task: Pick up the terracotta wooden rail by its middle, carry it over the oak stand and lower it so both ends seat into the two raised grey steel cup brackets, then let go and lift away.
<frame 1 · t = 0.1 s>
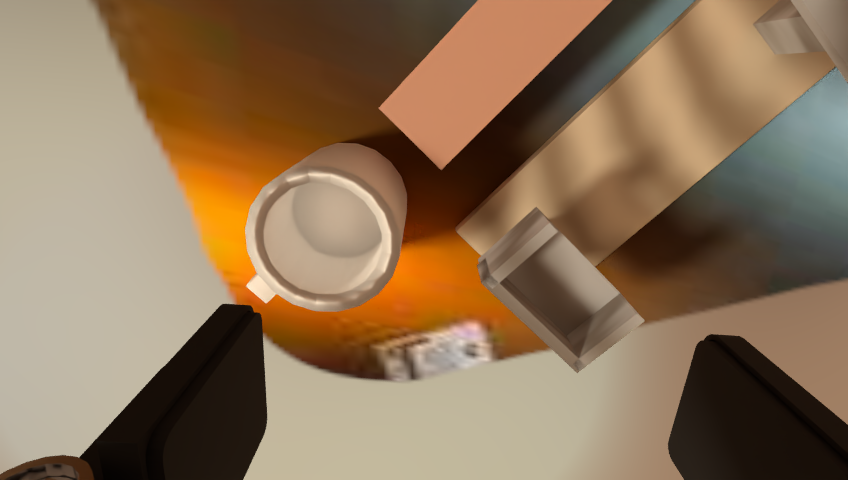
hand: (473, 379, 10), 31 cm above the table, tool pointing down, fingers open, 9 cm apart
cup stand: (640, 141, 39), on the table
mug: (338, 207, 41), on the table
rail: (527, 10, 36), on the table
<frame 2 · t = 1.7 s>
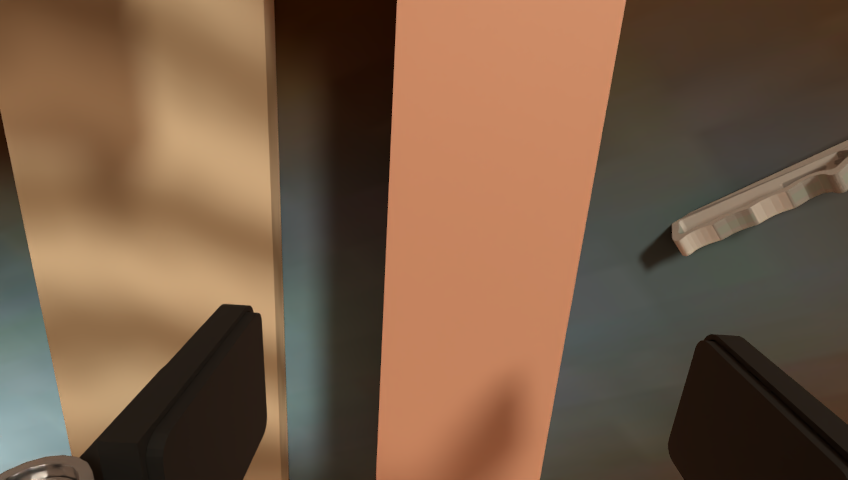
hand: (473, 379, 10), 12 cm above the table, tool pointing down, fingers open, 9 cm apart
cup stand: (161, 214, 22), on the table
rail: (465, 234, 22), on the table
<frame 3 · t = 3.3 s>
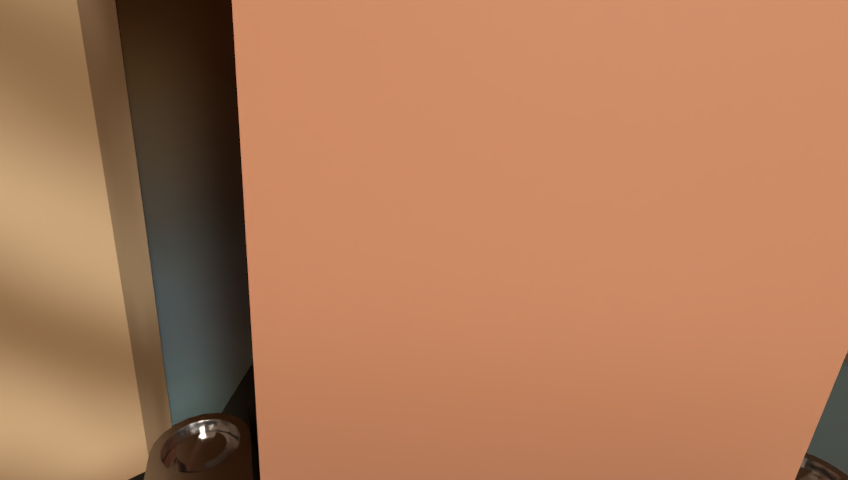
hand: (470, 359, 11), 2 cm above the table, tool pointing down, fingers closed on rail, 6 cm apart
rail: (465, 325, 13), on the table, touching gripper
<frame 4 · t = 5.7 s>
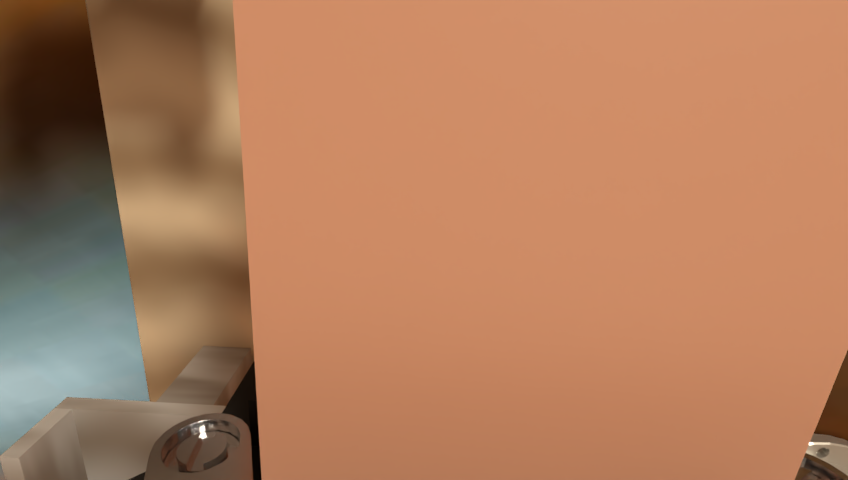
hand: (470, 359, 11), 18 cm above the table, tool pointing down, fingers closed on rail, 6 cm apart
cup stand: (220, 175, 27), on the table
rail: (465, 324, 13), point 16 cm above the table, touching gripper
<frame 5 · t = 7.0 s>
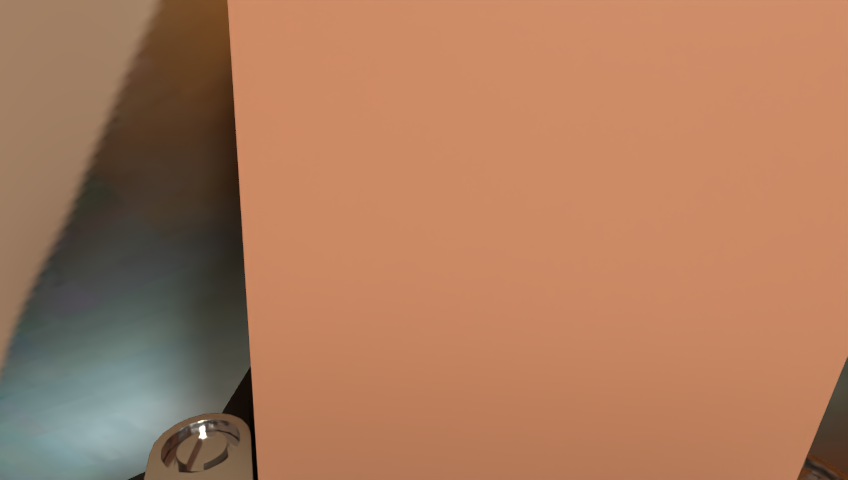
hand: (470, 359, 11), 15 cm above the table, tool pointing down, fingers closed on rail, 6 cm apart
rail: (464, 324, 13), point 14 cm above the table, touching gripper
when the fingers open (11 cm above the table, at t = 8.2 s): rail stays where it is, resting on cup stand.
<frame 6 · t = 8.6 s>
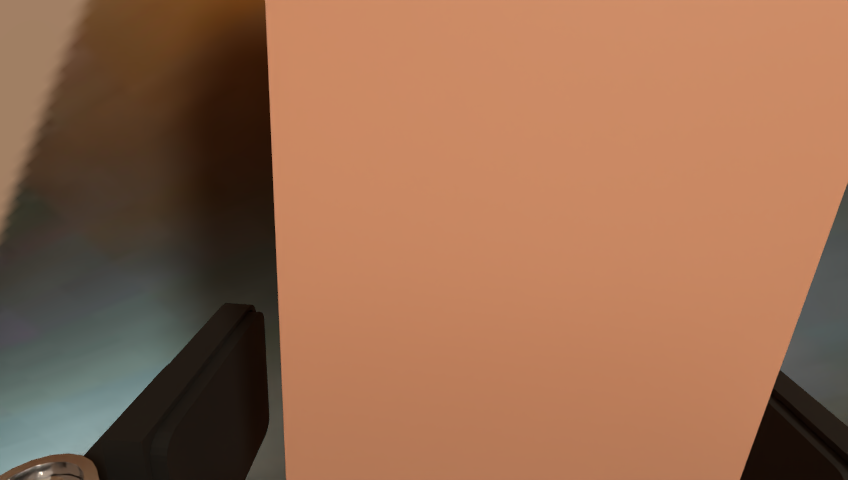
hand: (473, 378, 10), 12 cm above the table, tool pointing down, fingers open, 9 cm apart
rail: (465, 311, 13), point 9 cm above the table, touching cup stand
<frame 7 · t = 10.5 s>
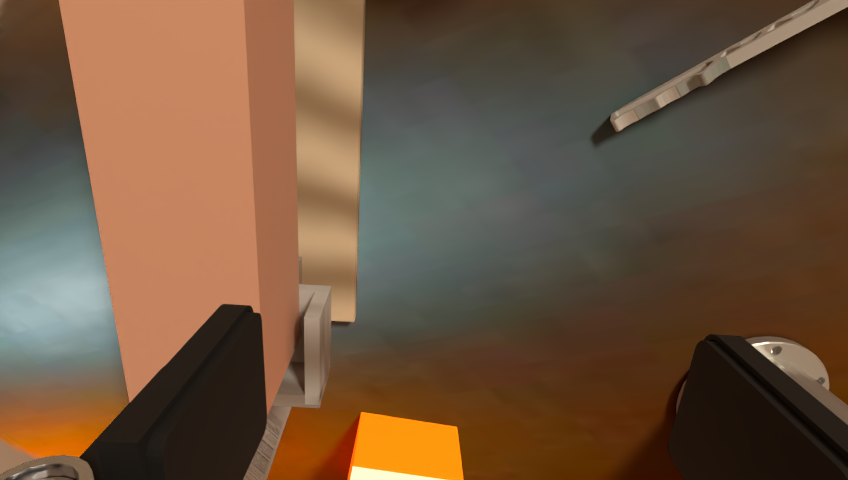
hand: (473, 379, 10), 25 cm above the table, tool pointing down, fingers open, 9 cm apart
cup stand: (281, 103, 32), on the table
coffee box: (232, 406, 41), on the table
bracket: (760, 21, 31), on the table
orange juice: (401, 449, 43), on the table
rail: (235, 119, 24), point 9 cm above the table, touching cup stand
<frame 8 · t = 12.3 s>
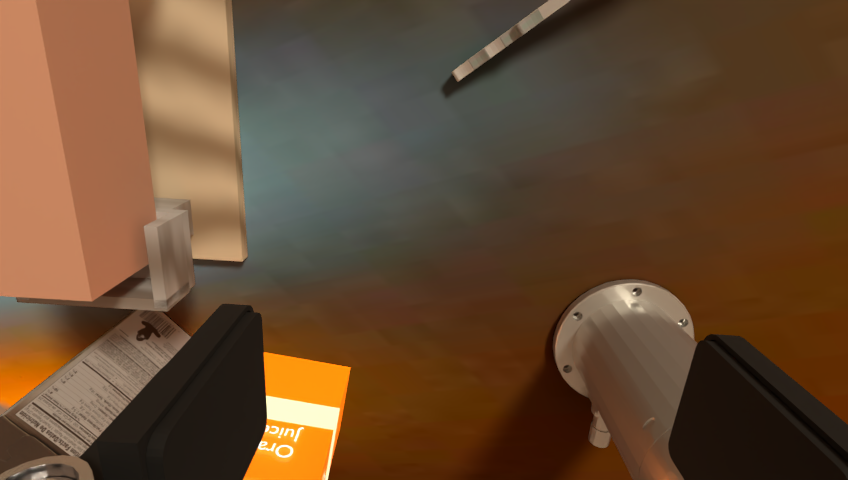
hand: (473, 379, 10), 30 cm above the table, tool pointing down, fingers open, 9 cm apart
cup stand: (164, 60, 37), on the table
coffee box: (145, 345, 45), on the table
orange juice: (302, 389, 47), on the table
rail: (85, 57, 28), point 9 cm above the table, touching cup stand
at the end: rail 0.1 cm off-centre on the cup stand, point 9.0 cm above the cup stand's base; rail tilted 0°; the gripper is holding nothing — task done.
